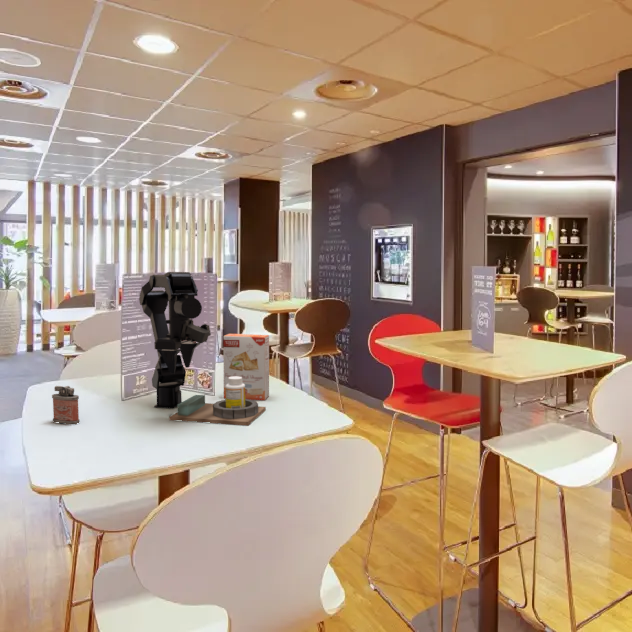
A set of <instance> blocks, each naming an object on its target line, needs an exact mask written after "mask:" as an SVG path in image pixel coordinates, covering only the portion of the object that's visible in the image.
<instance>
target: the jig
mask: <svg viewBox="0 0 632 632" xmlns="http://www.w3.org/2000/svg"><path fill="white" fill-rule="evenodd" d="M266 408H267V407H266V406H259V403H258V402H257V400H250V399H245V408H236V409H232V408H226V399H223V400H222V399H221V400H218V401H216V402H214V403H207V402H206V395H205V394H194V395H193V396H190V397H189V398H187V399H185V400H184V401H183V400H182V402H181V403H180V404H178V406H177V412H175V413H173V414H172V415H170V416H169V421H174V420H182V421H181V422H188V421H197V422H196V423H203V422H210V423H209V424H218V423H221V425H234V426H250V424H252V423H253V422H254V421H255V420H257V418H259V417H260V416H261V415H262V414H263V413H264V412H265V411H266V410H267V409H266Z"/></svg>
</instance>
